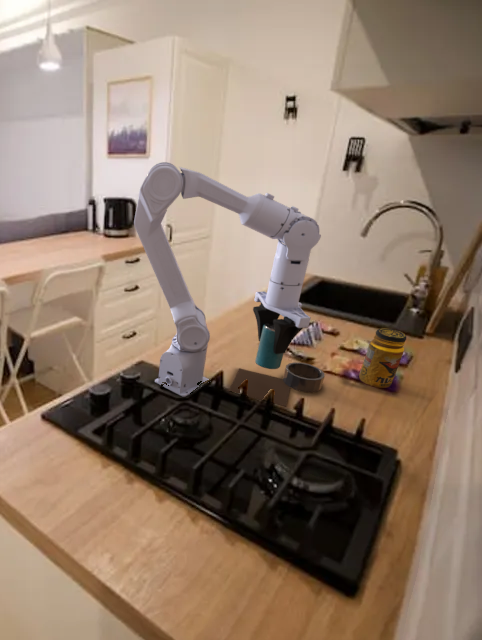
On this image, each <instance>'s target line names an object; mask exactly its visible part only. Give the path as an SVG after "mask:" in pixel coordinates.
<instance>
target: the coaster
mask: <svg viewBox="0 0 482 640" xmlns="http://www.w3.org/2000/svg"><path fill="white" fill-rule="evenodd" d="M246 379H247V380H248V391H247V394H248V396H249V397H248V398H251V399H255V400H259V401H262V399H263V398H264V396H265V395H266V394H267V393H268V391H269V390H270V389H274V391H275V395H274V405H278V406H281V407H286V408H287V406H288V402H289V401H288V400H289V396H290V391H291V388H290V387H289V386H288V385H286V384H285V383H284V381H283V378H281V377H277V376H273V375H268V374H266V373H265V374H264V373H259V372H256V371H252V370H249V369H244V368H238V369H237V372H236V374H235V376H234V378H233V380H232V382H231V385H230V387H229V389H228V392H229V391H233V392H236V393H240V389H238V387H239V386H240V385H241V383H242V382H243V381H244V380H246ZM236 393H235V394H236Z"/></svg>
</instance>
